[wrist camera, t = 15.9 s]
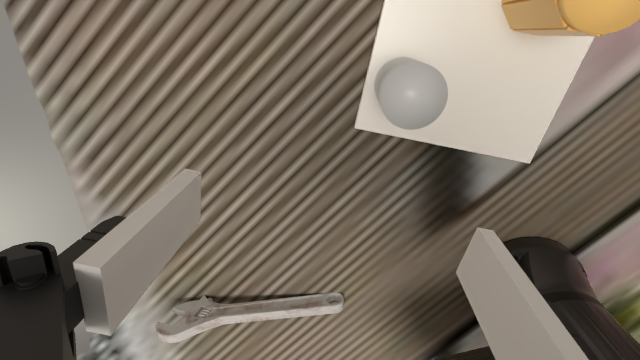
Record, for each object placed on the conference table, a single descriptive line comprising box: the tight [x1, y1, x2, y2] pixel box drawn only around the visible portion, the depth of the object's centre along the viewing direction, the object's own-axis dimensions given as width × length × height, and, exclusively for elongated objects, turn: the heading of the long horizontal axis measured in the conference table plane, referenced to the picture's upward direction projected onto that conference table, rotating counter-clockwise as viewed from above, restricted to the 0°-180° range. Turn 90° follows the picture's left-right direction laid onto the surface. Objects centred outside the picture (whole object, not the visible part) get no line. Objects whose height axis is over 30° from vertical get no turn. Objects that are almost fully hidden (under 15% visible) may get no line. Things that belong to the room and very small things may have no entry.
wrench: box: [156, 293, 344, 343], centre depth 52 cm, size 8×2×30 cm
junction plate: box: [354, 0, 595, 164], centre depth 31 cm, size 22×22×10 cm
